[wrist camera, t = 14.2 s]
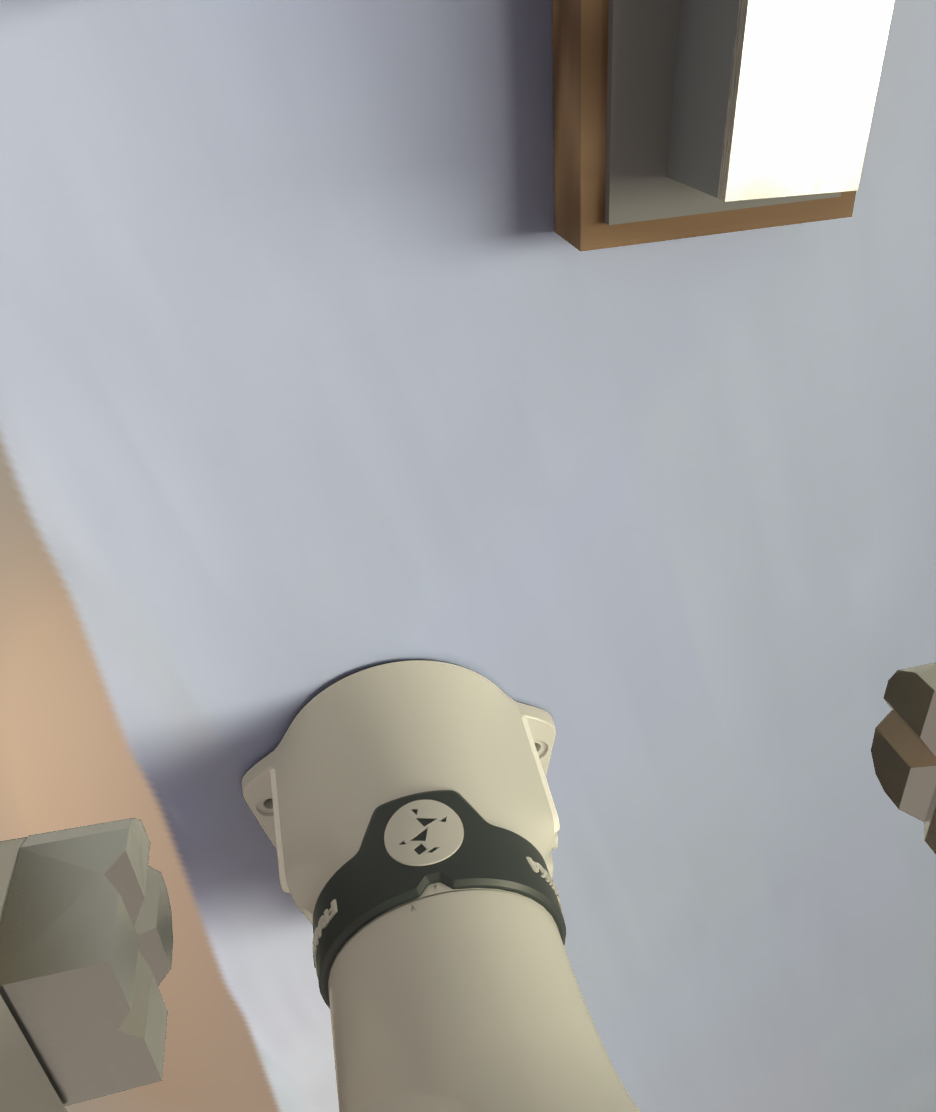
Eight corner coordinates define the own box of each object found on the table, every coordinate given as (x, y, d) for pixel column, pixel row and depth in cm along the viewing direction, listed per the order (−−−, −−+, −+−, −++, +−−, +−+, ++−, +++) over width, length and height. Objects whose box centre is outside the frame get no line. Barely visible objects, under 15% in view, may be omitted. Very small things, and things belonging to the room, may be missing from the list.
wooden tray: (807, 200, 40) (858, 218, 37) (555, 231, 38) (584, 254, 35) (863, -201, 32) (933, -223, 29) (550, -184, 31) (587, -206, 27)
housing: (827, -117, 30) (920, -135, 26) (785, 167, 35) (857, 190, 31) (690, -114, 29) (764, -132, 25) (666, 176, 34) (725, 201, 30)
